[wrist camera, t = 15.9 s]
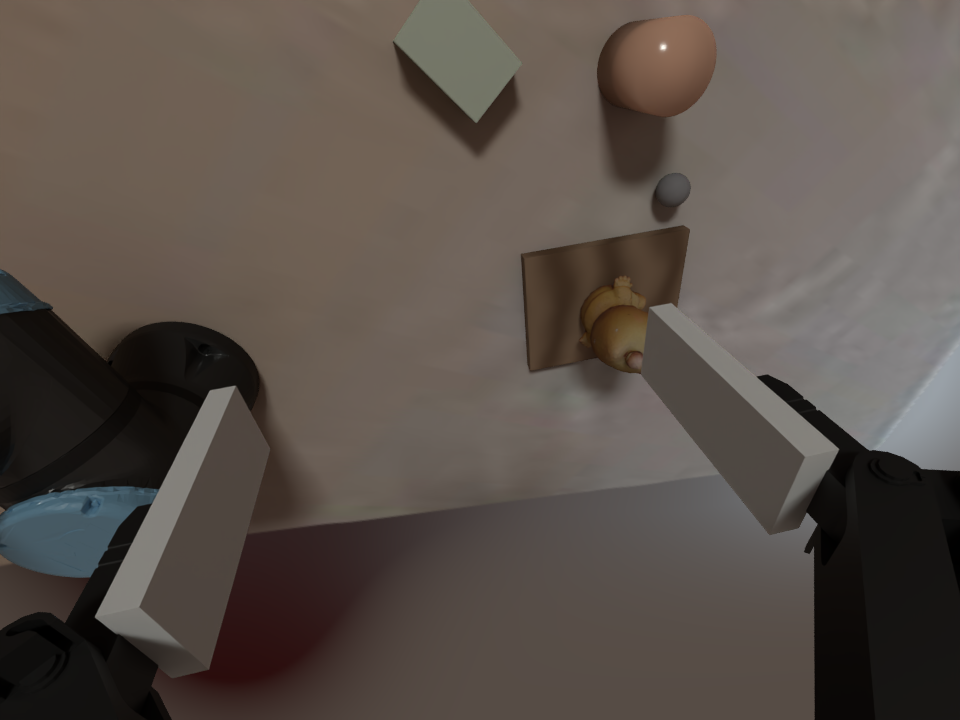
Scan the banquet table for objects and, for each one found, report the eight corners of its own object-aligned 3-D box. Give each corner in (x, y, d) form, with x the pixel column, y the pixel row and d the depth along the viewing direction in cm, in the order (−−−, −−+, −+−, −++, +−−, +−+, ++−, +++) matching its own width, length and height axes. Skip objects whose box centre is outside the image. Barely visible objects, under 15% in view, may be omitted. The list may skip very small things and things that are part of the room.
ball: (648, 204, 52) (663, 213, 49) (651, 172, 50) (668, 179, 47) (677, 199, 52) (694, 208, 49) (681, 167, 50) (699, 174, 47)
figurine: (614, 346, 60) (644, 412, 47) (563, 328, 59) (580, 390, 46) (654, 280, 56) (699, 334, 43) (599, 259, 55) (629, 307, 42)
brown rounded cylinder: (595, 112, 45) (631, 122, 39) (598, 26, 41) (639, 21, 35) (661, 102, 46) (707, 110, 39) (670, 16, 42) (724, 9, 35)
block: (469, 117, 44) (476, 123, 40) (392, 41, 39) (393, 40, 36) (511, 62, 42) (522, 63, 38) (435, -25, 37) (440, -32, 34)
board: (527, 364, 61) (530, 370, 60) (521, 254, 52) (524, 258, 51) (665, 337, 63) (671, 342, 62) (683, 225, 54) (689, 229, 53)
